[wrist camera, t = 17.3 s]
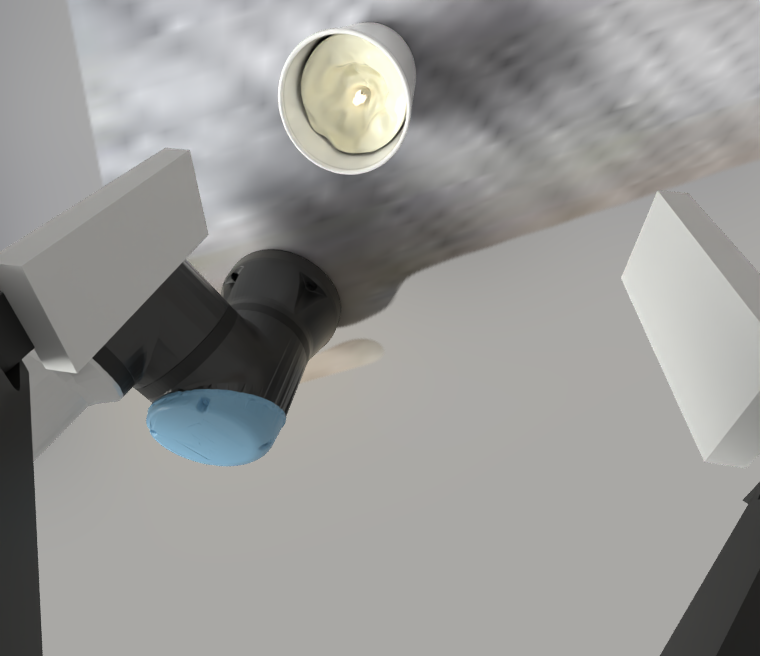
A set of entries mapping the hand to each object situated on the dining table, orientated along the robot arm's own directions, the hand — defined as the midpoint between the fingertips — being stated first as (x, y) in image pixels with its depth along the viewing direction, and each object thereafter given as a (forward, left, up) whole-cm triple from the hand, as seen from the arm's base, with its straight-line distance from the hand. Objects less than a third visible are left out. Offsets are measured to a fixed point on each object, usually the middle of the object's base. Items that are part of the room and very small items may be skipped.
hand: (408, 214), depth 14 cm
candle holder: (-7, -3, -35) cm, 36 cm away
